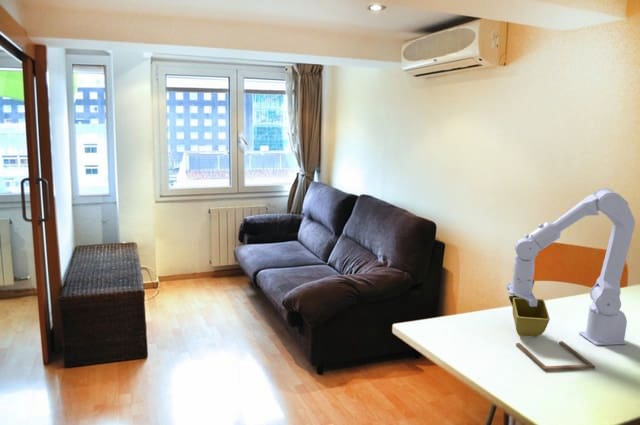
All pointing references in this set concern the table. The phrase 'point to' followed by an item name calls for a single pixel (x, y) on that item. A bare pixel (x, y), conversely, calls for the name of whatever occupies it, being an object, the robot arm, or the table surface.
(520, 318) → the flower pot
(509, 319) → the table surface
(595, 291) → the robot arm
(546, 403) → the table surface
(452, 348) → the table surface
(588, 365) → the brown wooden open-sided frame
